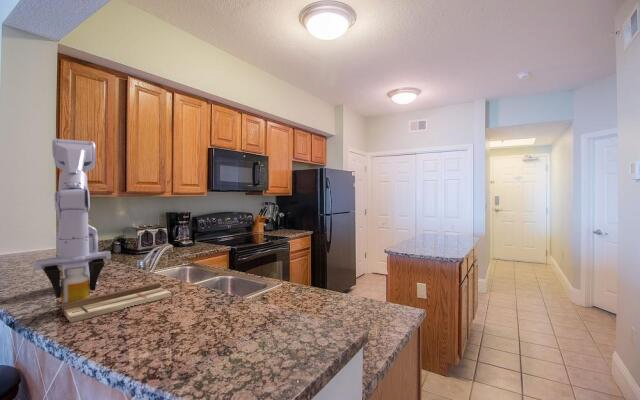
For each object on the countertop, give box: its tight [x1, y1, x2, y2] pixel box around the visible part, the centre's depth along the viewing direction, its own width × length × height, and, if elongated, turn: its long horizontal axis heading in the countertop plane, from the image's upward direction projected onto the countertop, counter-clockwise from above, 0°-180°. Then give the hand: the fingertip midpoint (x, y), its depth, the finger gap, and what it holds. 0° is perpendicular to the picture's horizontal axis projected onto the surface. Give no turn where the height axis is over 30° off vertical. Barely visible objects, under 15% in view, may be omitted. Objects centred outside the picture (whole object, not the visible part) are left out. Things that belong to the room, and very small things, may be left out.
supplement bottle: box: [60, 266, 91, 310], centre depth 74 cm, size 5×5×10 cm
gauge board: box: [62, 281, 172, 323], centre depth 76 cm, size 8×21×2 cm, turn 140°
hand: (75, 293), depth 74 cm, fingers open, 6 cm apart
